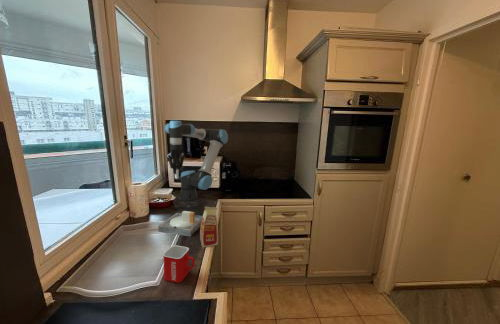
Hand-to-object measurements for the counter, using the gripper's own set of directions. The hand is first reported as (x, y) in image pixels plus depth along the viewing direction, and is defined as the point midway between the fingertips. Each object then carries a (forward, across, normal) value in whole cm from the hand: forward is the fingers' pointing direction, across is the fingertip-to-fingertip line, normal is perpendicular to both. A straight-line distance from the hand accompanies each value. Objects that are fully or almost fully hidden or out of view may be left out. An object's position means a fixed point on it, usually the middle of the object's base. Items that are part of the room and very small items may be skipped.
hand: (176, 178), depth 149 cm
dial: (+22, -9, -22) cm, 33 cm away
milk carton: (+25, -9, -48) cm, 54 cm away
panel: (+24, -9, -22) cm, 34 cm away
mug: (+25, -33, -60) cm, 73 cm away
